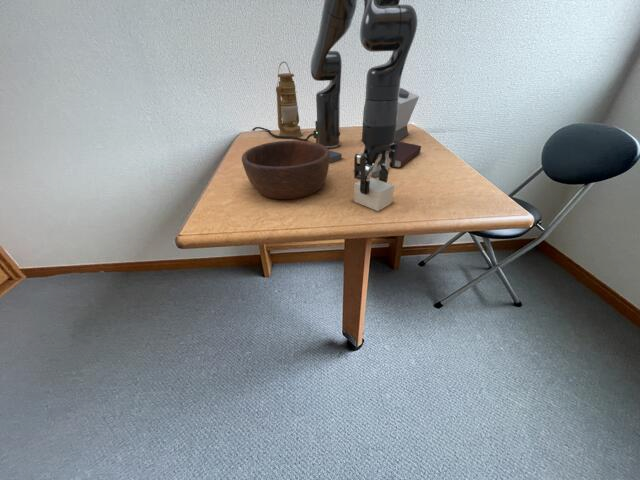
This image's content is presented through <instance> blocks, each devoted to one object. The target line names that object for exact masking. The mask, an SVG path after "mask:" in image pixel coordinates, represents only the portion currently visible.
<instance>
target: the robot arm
mask: <svg viewBox="0 0 640 480" xmlns="http://www.w3.org/2000/svg"><path fill="white" fill-rule="evenodd" d="M363 2H364V3H363V4H364V9H363V14H362V19H361V22H360V29H359V40H360V43H361V46H362V47H363V48H364V49H365V50H366V51H368V52H372V53H380V52H392V53H391V56H390V57H389V58H388V60H387V61H386V62H385V63H382V64H379V65H375V66H372V67H370V68H368V70H367V73H366V79H365V80H366V81H365V95H364V96H365V97H364V98H365V99H364V107H363V113H362V114H363V115H362V128H361V129H362V131H361V142H362V143H363V145H364V148H363V152H362V153H360V154H359V153H355V155H354V158H353V159H354V160H353V162H354V165H353V167H354V169H353V170H354V171H353V178H354V179H356V180H358V181H360V192H361V193H362V194H365V195H367V194H369V186H370V177H371V175H372V173H373V172H375V169H376V167H377V166H379V167H380V169H381V170H380V172H379V176H378V180H380V181H383V182H386V183H388V178H389V172H390V171H391V168H395V167H394V166H395V160H396V154H397V147H398V144H396V143H394V141H395V133H396V125H397V117H398V98H399V90H400V87H401V81H402V76H403V72H404V68H405V65H406V61H407V59H408V56H409V53H410V51H411V48H412V45H413V43H414V39H415V37H416V33H417V31H418V21H419V20H418V15H417V11H416V9H415V8H414V6H413V5H411V4H400V2H401V0H363ZM357 7H358V0H324V2H323V7H322V12H321V18H320V24H319V30H318V34H317V38H316V41H315V44H314V48H313V51H312V56H311V60H310V75H311V77H312V79H313V80H314V81H316V82H327V81H329V83H328V85H327V86H326V87H325V88H323V89H321V90H319V91H317V92H316V94H315V101H316V103H315V104H316V105H315V106H316V120H315V122H314V123H315V125H314V127H315V129H314V130H313V132H312V133H310V134H309V135H308V136H307V137H306V138H301V137H292V136H280V135H277V134H274V133H273V132H271V130H270V129H268V128H265V127H261V126H255V127H254V128H252V131H253V132H254V131H255V130H259V129H260V130H263V131H266V132H268V134H269V135H271V136H272V137H274V138H279V139H294V140H297V141H308V140H309V139H310V137H313V139H315V143H319V144H322V145H324V146H325V147H327V148H328V149H334V148H337V147H339V146H340V143H341V142H340V137H341V132H340V125H341V123H340V122H341V121H340V120H341V119H340V118H341V115H340V114H341V91H342V90H341V89H342V88H341V87H342V71H343V70H342V69H343V64H342V63H343V62H342V61H343V60H342V56H341V55H342V54H341V53H340V52H339V51H338V50H331V49H332V48H333V47H334V46H335V45H336V44H337V43H339V41H340V40H342V38H343V37H344V36H345V35H346V34H347V33H348V31H349V30H350V28H351V25H352V24H353V23H352V22H353V20H354V16H355V14H356V10H357ZM389 157H391V158H392V160H391V162H390V159H389ZM367 164H368V165H369V166H372V167H366V165H367ZM359 171H360V173H359ZM366 171H368V173H367V175H365V173H366ZM371 178H372V177H371Z"/></svg>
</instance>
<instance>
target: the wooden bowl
mask: <svg viewBox="0 0 640 480" xmlns="http://www.w3.org/2000/svg"><path fill="white" fill-rule="evenodd" d="M329 150H330V148H327V147H325V146H324V145H322V144H319V143H316V141H315V142H314V141H308V140H306V141H302V140H281V141H272V142H271V141H270V142H266V143H262V144H259V145H256V146H253V147H250V148H249V149H247V150H246V151H245V152H243V154H242V156H241V163H242V166H243V168H244V172H245V175H246V178H247V180H248V181H249V184H250V185H251V186H252V188H254V190H255V191H256V192H257V193H258V194H260V195H262V196H263V197H266V198H270V199H273V200H295V199H299V198H300V199H301V198H304V197H308V196H310V195H313V194H315V193H316V192H317V191H319V190H320V189H321V188H322V187H323V185H324V183H325V181H326V179H327V176H328V172H329V167H330V163H329V161H330V151H331V150H330V151H329Z"/></svg>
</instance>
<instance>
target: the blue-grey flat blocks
mask: <svg viewBox="0 0 640 480" xmlns="http://www.w3.org/2000/svg"><path fill="white" fill-rule="evenodd" d="M329 151H330V161H329V164H332V163H334V162H338V161H340V160H342V153H341V152H337V151H333V150H330V149H329ZM366 167H372V166H369V165H368V164H367V165H366ZM380 170H381V169H380V167H379V166H377V167H376V169H375V172H373V173H372V175H371V178H377V177H379V172H380ZM367 173H368V171H366V173H365V175H367ZM359 174H360V171H359Z"/></svg>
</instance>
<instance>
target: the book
mask: <svg viewBox="0 0 640 480" xmlns="http://www.w3.org/2000/svg"><path fill="white" fill-rule="evenodd" d="M394 143H396V144H398V147H397V154H396V160H395V166H394V167H393V168H402V167H403V166H405V164H407V163H408V162H410V161H411V160H412V159H414V158H415V157H416V156H418V155H419V154H420V152H421V149H422V146H421V145H418V144H414V143H408V142H403V141H394ZM389 159H390V162H391V160H392V158H391V157H389Z"/></svg>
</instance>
